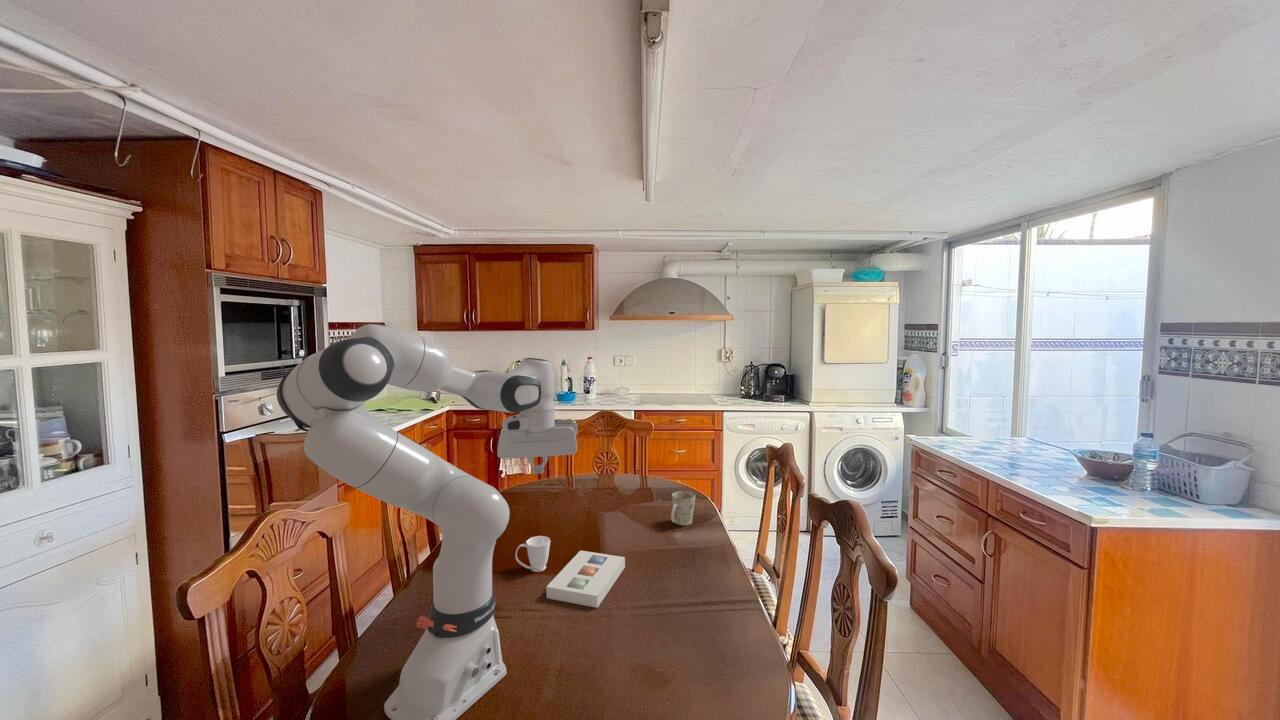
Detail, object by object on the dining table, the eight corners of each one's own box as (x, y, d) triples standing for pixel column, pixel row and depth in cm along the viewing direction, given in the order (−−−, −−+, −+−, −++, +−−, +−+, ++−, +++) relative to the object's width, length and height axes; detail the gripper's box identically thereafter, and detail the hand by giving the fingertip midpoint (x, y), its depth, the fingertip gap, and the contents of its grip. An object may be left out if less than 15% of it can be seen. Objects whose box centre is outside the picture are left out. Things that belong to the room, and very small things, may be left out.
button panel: (597, 607, 114) (597, 596, 114) (546, 598, 118) (546, 586, 118) (624, 567, 134) (624, 557, 134) (580, 560, 138) (580, 550, 138)
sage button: (581, 599, 117) (581, 587, 117) (567, 596, 119) (567, 584, 118) (588, 590, 121) (588, 579, 121) (574, 588, 122) (574, 577, 122)
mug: (699, 520, 167) (699, 493, 167) (683, 533, 157) (683, 504, 156) (678, 516, 172) (678, 489, 171) (661, 527, 161) (661, 499, 161)
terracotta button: (592, 585, 124) (591, 574, 123) (578, 583, 125) (578, 572, 125) (597, 578, 127) (597, 567, 127) (584, 575, 129) (584, 565, 128)
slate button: (601, 573, 130) (601, 563, 130) (588, 571, 131) (587, 561, 131) (606, 566, 134) (606, 556, 133) (593, 564, 135) (593, 554, 135)
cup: (549, 574, 130) (548, 546, 130) (512, 575, 130) (512, 546, 129) (552, 561, 137) (552, 535, 137) (518, 562, 137) (517, 535, 136)
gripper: (576, 416, 126) (576, 466, 126) (497, 419, 121) (498, 471, 122) (579, 420, 120) (579, 473, 120) (496, 424, 115) (497, 479, 116)
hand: (538, 472), depth 121 cm, fingers closed
